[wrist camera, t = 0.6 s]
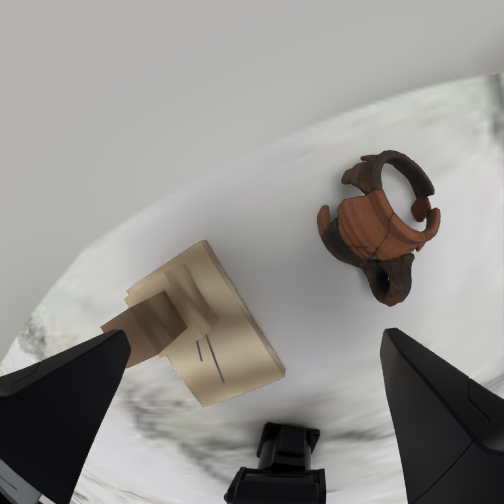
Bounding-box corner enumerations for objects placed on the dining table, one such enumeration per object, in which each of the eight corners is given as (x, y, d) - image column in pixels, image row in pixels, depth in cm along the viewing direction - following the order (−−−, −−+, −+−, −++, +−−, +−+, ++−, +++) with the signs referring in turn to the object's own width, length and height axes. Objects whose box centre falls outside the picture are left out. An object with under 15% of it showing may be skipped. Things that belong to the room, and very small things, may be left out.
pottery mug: (298, 186, 24) (343, 134, 17) (375, 184, 27) (426, 147, 19) (329, 319, 22) (395, 315, 14) (405, 295, 25) (469, 282, 17)
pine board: (285, 369, 26) (284, 377, 24) (207, 399, 28) (202, 407, 26) (205, 239, 26) (200, 241, 24) (133, 287, 28) (126, 291, 26)
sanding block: (217, 320, 25) (177, 366, 16) (178, 340, 26) (130, 385, 17) (184, 264, 25) (127, 285, 16) (146, 288, 26) (86, 315, 17)
